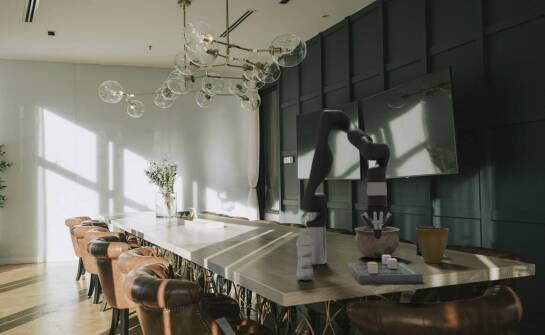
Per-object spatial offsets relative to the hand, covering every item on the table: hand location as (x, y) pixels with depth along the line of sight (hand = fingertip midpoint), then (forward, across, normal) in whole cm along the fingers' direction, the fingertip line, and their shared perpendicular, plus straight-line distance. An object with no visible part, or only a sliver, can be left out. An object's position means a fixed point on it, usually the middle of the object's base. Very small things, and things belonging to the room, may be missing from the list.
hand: (377, 238), depth 185 cm
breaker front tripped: (+13, -2, 0) cm, 13 cm away
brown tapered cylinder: (+17, +39, +65) cm, 78 cm away
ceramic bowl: (+17, +12, +57) cm, 60 cm away
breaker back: (+13, +8, +20) cm, 25 cm away
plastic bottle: (+16, -28, +3) cm, 33 cm away
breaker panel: (+16, +4, +10) cm, 19 cm away
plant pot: (+17, +35, +42) cm, 57 cm away
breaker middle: (+13, +8, +10) cm, 18 cm away
